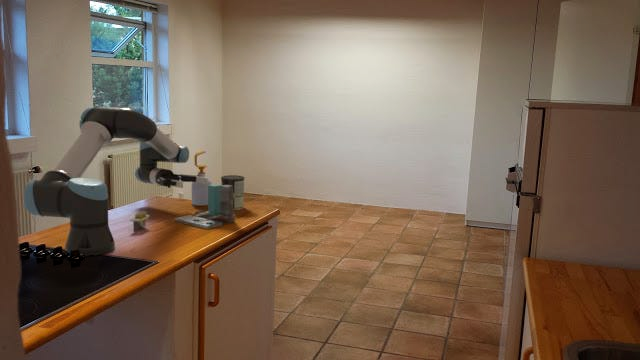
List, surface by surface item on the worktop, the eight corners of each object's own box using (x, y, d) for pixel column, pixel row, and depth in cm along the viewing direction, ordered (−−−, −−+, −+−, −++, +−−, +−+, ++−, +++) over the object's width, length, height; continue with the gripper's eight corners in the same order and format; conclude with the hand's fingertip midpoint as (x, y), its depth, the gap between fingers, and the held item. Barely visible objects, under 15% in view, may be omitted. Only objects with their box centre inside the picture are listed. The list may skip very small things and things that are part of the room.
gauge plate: (207, 229, 218) (207, 225, 217) (174, 221, 229) (174, 217, 228) (222, 225, 224) (222, 222, 224) (189, 217, 235) (189, 214, 235)
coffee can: (222, 210, 250) (222, 179, 248) (219, 205, 260) (219, 175, 257) (246, 209, 253) (246, 178, 251) (242, 205, 263) (242, 175, 260)
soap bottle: (213, 205, 260) (213, 152, 256) (193, 206, 257) (192, 152, 253) (209, 201, 268) (209, 149, 264) (190, 202, 265) (189, 150, 261)
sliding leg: (200, 219, 224) (200, 189, 222) (192, 217, 227) (191, 187, 225) (223, 213, 234) (223, 185, 232) (214, 212, 237) (214, 183, 235)
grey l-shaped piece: (213, 227, 220) (213, 189, 218) (180, 219, 231) (180, 183, 229) (235, 222, 230) (235, 185, 228) (203, 214, 241) (203, 180, 239)
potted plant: (165, 225, 224) (165, 209, 223) (145, 237, 206) (144, 219, 205) (136, 223, 225) (136, 207, 224) (114, 234, 208) (113, 217, 206)
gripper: (184, 182, 262) (216, 188, 249) (138, 188, 242) (171, 195, 229) (184, 166, 260) (216, 171, 248) (138, 171, 240) (171, 176, 228)
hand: (195, 182), depth 239 cm, fingers open, 13 cm apart
